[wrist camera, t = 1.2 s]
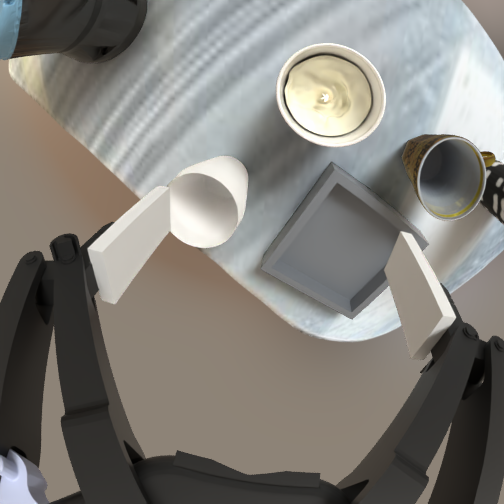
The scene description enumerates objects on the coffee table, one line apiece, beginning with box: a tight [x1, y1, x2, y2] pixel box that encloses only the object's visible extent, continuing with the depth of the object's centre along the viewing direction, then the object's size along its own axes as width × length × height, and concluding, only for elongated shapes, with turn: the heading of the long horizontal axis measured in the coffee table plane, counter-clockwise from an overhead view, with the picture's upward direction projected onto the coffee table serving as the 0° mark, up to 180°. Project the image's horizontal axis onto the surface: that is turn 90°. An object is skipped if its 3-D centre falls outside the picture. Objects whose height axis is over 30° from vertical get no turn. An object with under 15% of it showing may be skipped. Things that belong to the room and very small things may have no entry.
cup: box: [167, 156, 249, 248], centre depth 34 cm, size 9×9×12 cm
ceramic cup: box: [401, 134, 495, 221], centre depth 27 cm, size 13×10×10 cm
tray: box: [261, 162, 429, 319], centre depth 39 cm, size 18×18×4 cm
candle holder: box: [276, 43, 386, 147], centre depth 25 cm, size 10×10×12 cm
